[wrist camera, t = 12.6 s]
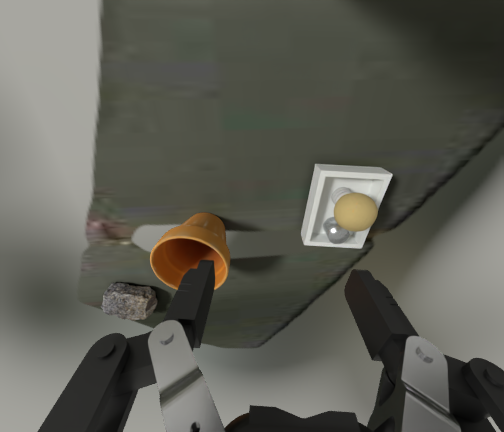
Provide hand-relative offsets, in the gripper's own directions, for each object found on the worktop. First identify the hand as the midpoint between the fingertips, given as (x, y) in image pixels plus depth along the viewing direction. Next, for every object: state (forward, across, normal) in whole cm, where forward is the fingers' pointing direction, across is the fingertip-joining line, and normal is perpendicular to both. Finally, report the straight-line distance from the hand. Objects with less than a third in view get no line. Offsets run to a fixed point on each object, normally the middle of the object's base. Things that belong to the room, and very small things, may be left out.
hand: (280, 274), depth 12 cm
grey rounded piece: (+28, -15, +14) cm, 34 cm away
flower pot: (+30, +13, +18) cm, 38 cm away
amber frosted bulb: (+28, -15, +6) cm, 32 cm away
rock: (+30, +37, +44) cm, 65 cm away
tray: (+30, -15, +9) cm, 35 cm away
